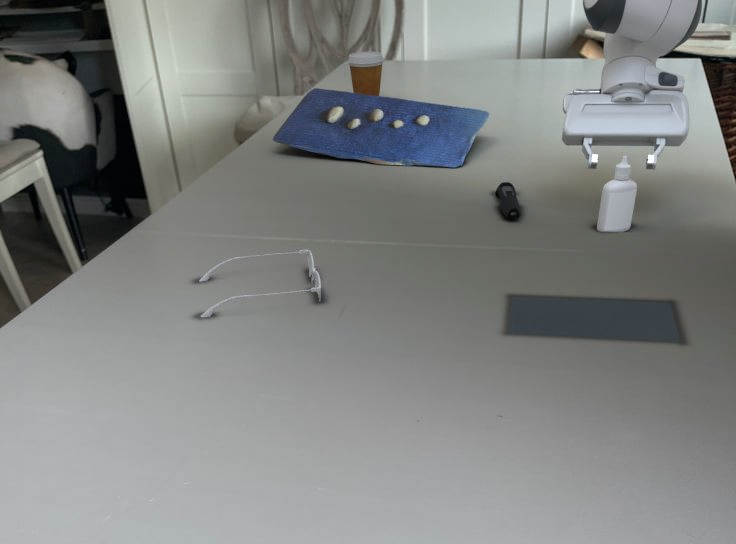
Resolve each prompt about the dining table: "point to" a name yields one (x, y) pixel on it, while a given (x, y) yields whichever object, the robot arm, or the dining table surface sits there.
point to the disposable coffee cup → (366, 72)
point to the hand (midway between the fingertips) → (621, 167)
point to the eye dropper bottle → (617, 200)
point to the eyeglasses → (311, 272)
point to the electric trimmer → (508, 200)
